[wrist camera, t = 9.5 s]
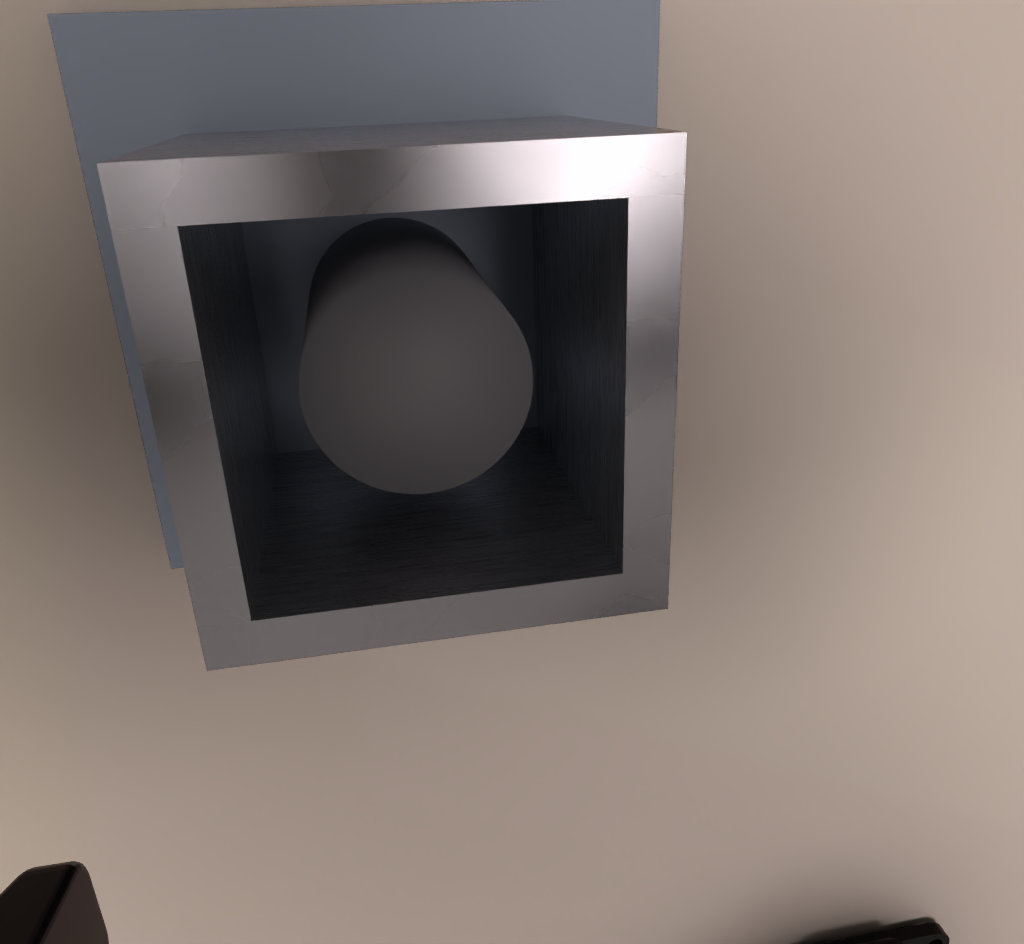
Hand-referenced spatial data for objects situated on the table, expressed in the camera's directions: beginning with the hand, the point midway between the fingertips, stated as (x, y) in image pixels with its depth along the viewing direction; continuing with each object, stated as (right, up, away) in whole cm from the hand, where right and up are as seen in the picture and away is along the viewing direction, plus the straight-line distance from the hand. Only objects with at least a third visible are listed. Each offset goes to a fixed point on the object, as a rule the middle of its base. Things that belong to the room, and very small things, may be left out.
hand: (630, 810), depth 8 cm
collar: (-3, +6, +9) cm, 11 cm away
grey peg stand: (-3, +6, +9) cm, 12 cm away
